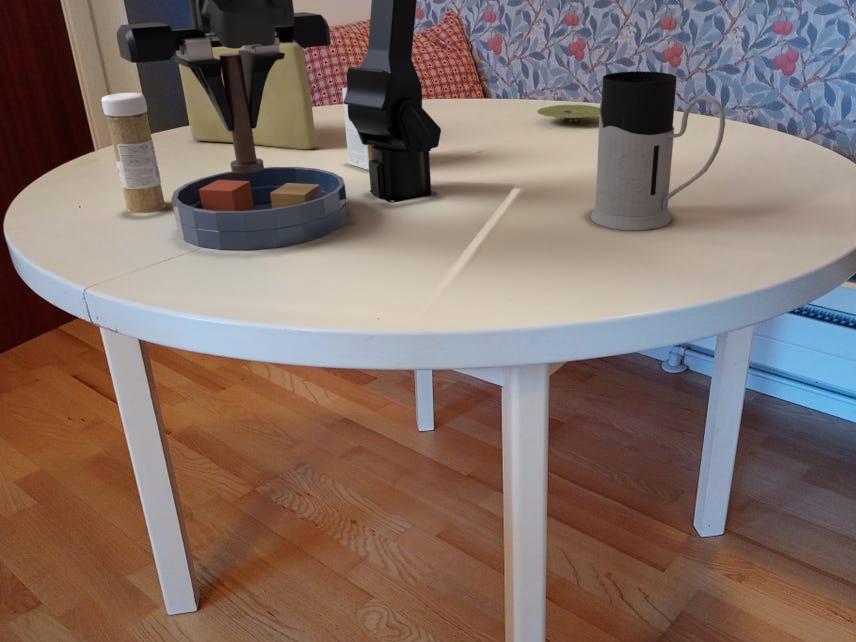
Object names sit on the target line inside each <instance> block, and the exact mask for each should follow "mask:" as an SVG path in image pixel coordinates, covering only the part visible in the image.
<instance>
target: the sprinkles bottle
mask: <svg viewBox="0 0 856 642" xmlns="http://www.w3.org/2000/svg"><path fill="white" fill-rule="evenodd" d="M101 106H102V111H103V114H104V115H105V118H106V120H107V125H108V130H109V132H110V139H111V142H112V147H113V153H114V157H115V158H114V159H115V163H116V168H117V172H118V176H119V177H118V178H119V180H120V185H121V187H122V192H123V196H124V200H125V204H126V212H127V213H131V214H149V213H153V212H157V211H160V210H163V209H164V208H166V207H167V204H166V202H165V198H164V193H163V190H162V179H161V174H160V171H159V165H158V164H159V163H158V160H157V155H156V150H155V145H154V141H153V137H152V133H151V129H150V123H149V119H148V112H147V111H148V105H147V101H146V98H145V95H144V94H143V93H140V92H119V93H113V94H108V95H104V96H102V97H101Z"/></svg>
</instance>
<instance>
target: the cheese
mask: <svg viewBox="0 0 856 642" xmlns="http://www.w3.org/2000/svg"><path fill="white" fill-rule="evenodd" d="M303 49H304V48H301V47H300V46H299V45H297V44H296V43H295V42H289V43H281V42H280V46H279V51H280V52H282V53H285V57H284V59H281V60H277V61H275V63H274V65H273V66H272V68H271V69H270V71H269V73H268V76H267V79H266V82H265V86H264V90H263V95H262V100H261V105H260V111H259V116H258V121H257V126H256V128H253V129H252V132H253V138H254V145H256V146H264V147H265V146H267V147H275V148H284V149H296V150H311V149H314V148H316V147H317V138H316V137H317V136H316V128H315V121H314V113H313V104H312V94H311V88H310V87H311V86H310V81H309V75H308V69H307V65H306V60H305V54H304V50H303ZM240 50H245V49H244V46H242V47H241V48H237V49H232V48H227V47H213V48H212V51H213V57H214V58H217V59H219V60H220V58H219V55H222V54H231V53H238V51H240ZM176 56H178V53H176ZM178 68H179V73H180V79H181V84H182V90H183V95H184V101H185V107H186V112H187V119H188V123H189V129H190V134H191V137H192V140H193V141H197V142H210V143H211V142H212V143H229V144H230V143H231V144H233V138H232V132H229V131H227V130H226V128H225V126H224V124H223V123H222V121H221V119H220V117H219V115H218V113H217V112H216V110H215V108H214V106H213V104H212V102H211V101H210V99H209V97H208V95H207V93H206V92H205V90H204V88H203V87H202V85H201V84H200V82H199V81H198V79H197V78H196V76H195V75H194V74H193V72H192V71H191V69H190V68H188V67H185V66H183V65H181V64H178ZM221 75H222V70H221ZM222 80H223V76H222ZM223 84H224V82H223Z"/></svg>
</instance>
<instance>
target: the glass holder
mask: <svg viewBox="0 0 856 642" xmlns="http://www.w3.org/2000/svg"><path fill="white" fill-rule="evenodd" d="M677 80H678V77H677V75H675V74H671V73H667V72H660V71H645V70H644V71H639V70H638V71H619V72H613V73H608V74H604V75H603V76H602V90H601V102H600V105H599V108H600V115H599V117H598V118H599V120H598V141H597V163H596V164H597V165H596V186H595V205H594V208H593V211H592V213H591V215H590V218H591V221H592V222H594V223H595V224H597V225H599V226H601V227H604V228H608V229H612V230H613V229H614V230H620V231H648V230H655V229H658V228H662V227H665V226H667V225H669V224H670V222H671V214H670V212H669V207H668V206H669V205H668V204H669V200H670V199H671V198H673V196H675V195H676V194H678V193H680V192H681V191H682V190H684V189H685V188H687V187H688V186H690V185H691V184H692V183H694V182H695V181H696V180H698V179H699V178H700V177H702V176H703V175H704V174H706V172H708V170H709V168H710V167H711V165H712V164H713V163H714V161H715V159H716V157H717V155H718V153H719V151H720V148H721V145H722V143H723V139H724V134H725V128H726V112H725V110H724V107H723V105H722V103H720V102H719V101H718V100H717V99H715V98H713V97H712V96H708V95H702V96H697V97H695V98H694V99H692V100H690V102H689V103H688V104H687V105H686V107H685V109H684V111H683V113H682V118H681V126H680V130H679V132H677V133H675V127H674V117H675V116H674V115H675V104H676V93H677V92H676V91H677ZM701 101H707V102H709V103H710V104H713V105H714V106H715V108H716V109H717V112H718V115H719V127H718V132H717V139H716V142H715V145H714V147H713V150H712V152H711V154H710V156H709V157H708V159H707V161H706V162H705V164H704V165H703V166H702V168H701V169H700V170H699V171H698V172H696V174H695V175H693V176H692V177H691V178H689V179H688V180H687V181H686V182H683V184H681V185H679V186H678V187H676V188H675V189H674V190H672V191H671V192H670V185H671V184H670V182H671V170H672V159H673V158H672V157H673V150H674V149H673V148H674V138H675V139H676V138H679V137H682V136H683V135H684V134H685V132H686V131H687V127H688V120H689V119H688V118H689V114H690V112H691V110H692V108H693V107H694V106H695V104H697V103H698V102H701Z"/></svg>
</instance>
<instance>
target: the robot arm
mask: <svg viewBox="0 0 856 642" xmlns="http://www.w3.org/2000/svg"><path fill="white" fill-rule="evenodd" d="M417 2H418V0H371V5H370V6H371V7H370V19H369V29H368V31H369V33H368V46H367V52H366V55H365V56H364V58H363V59H362V62H361V63H360V66H359V67H357V66H349V67H347V72H346V88H347V92H346V97H345V99H344V104H347V105H348V117H349V120H350V121H352V123H353V125H354V126H355V128H356V129H357V132H358V134H359V137H360V140H361V142H362V144H363V145H372V147H371V153H372V160H370V161H369V170H368V171H369V173H368V174H369V183H370V184H369V185H370V190H369V192H370V193H371V194H372V195H373V196H375V197H376V198H378V199H380V200H384V201H386V202H388V203H391V204H392V203H399V202H404V201H409V200H410V201H411V200H415V199H420V198H426V197H431V196H436V195H438V194H439V193H438V192H437V191H435V190H432V179H431V178H432V177H431V162H430V161H431V160H430V159H431V158H430V152H431V151H432V149H435V148H438V147H439V144H440V140H441V139H440V138H441V133H442V128H441V127H440V126H439V125H438V123H436V121H435V120H434V119H433V118H432V116H430V114H428V113H427V111H426V110H425V109H424V108H423V85H422V83H421V80H420V78H419V74H418V72H417V69H416V67H415V65H414V62H413V56H412V55H413V47H414V46H413V44H414V36H415V35H414V34H415V23H416V14H417V13H416V11H417ZM188 5H189V11H190V14H189V19H190V25H191V27H192V28H191V27H189V28H178V29H172V27H171V25H170V24H166V23H163V22H160V21H159V22H158V21H157V22H143V23H130V24H129V23H128V24H121V25H120V26H119V27H118V29H117V31H116V40H117V41H116V42H117V46H118V51H119V56H120V58H122V59H124V60H126V61H128V62H130V63H131V64H132V63H134V64H141V63H152V62H153V63H154V62H162V61H163V62H164V61H171V59H172V58H173V56H174V55H175V54H177V53H178V56H177V55H176V56H174V62H175V63H176V64H178V65H179V64H181V65H183V66H185V67H188V68H190V69H191V71H192V72H193V74H194V75H195V76H196V78H197V79H198V81H199V82H200V84H201V85H202V87H203V88H204V90H205V92H206V93H207V95H208V97H209V99H210V101H211V102H212V104H213V106H214V108H215V110H216V112H217V113H218V115H219V117H220V119H221V121H222V123H223V124H224V126H225V128H226V130H227V131H229V132H231V131H233V125H232V116H231V112H230V108H229V104H228V100H227V96H226V92H225V88H224V84H223V80H222V75H221V60H219V59H217V58H214V57H213V51H212V48H213V47H227V48H232V49H237V48H241V47H242V46H244V49H245V50H240V51H238V54H241V59H242V65H243V72H244V79H245V85H246V92H247V98H248V105H249V112H250V119H251V125H252V129H253V128H256V126H257V121H258V116H259V111H260V105H261V100H262V95H263V90H264V86H265V82H266V79H267V76H268V73H269V71H270V69H271V68H272V66H273V65H274V63H275V61H277V60H281V59H284V57H285V53H282V52H280V51H279V46H280V44H281V43H296V44H297V45H299V46H300V47H301V48H302V49H305V48H306V49H308V48H317V47H318V48H319V47H328V46H331V45H332V42H331V31H330V26H329V24H328V21H327V19H326V18H324V16H323V14H321V13H319V14H318V13H311V12H307V11H306V12H305V11H302V12H301V11H300V12H295V10H294V9H295V8H294V2H293V0H188ZM211 32H213V33H211Z"/></svg>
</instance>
